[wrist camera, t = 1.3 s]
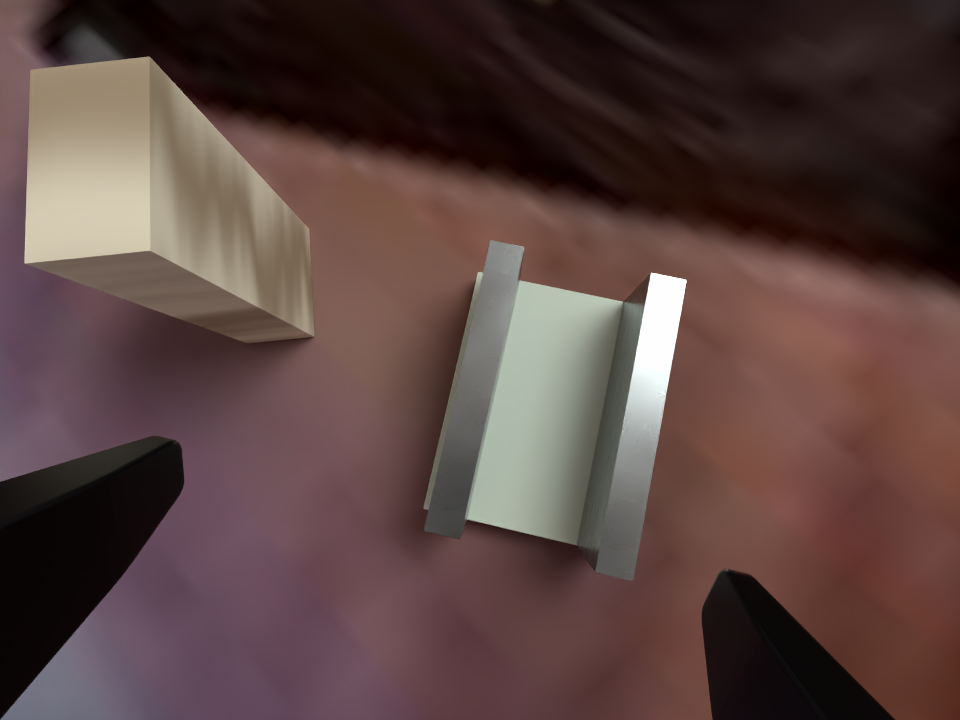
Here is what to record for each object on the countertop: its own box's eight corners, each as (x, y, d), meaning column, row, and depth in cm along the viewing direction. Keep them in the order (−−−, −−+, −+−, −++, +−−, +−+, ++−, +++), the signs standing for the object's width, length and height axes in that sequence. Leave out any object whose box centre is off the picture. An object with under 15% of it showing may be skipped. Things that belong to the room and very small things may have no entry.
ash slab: (314, 336, 23) (150, 250, 12) (247, 343, 23) (24, 263, 12) (309, 229, 24) (149, 56, 13) (244, 235, 24) (30, 70, 13)
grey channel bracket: (616, 550, 21) (651, 585, 16) (426, 505, 22) (405, 526, 17) (659, 316, 23) (704, 283, 18) (479, 278, 23) (473, 236, 18)
